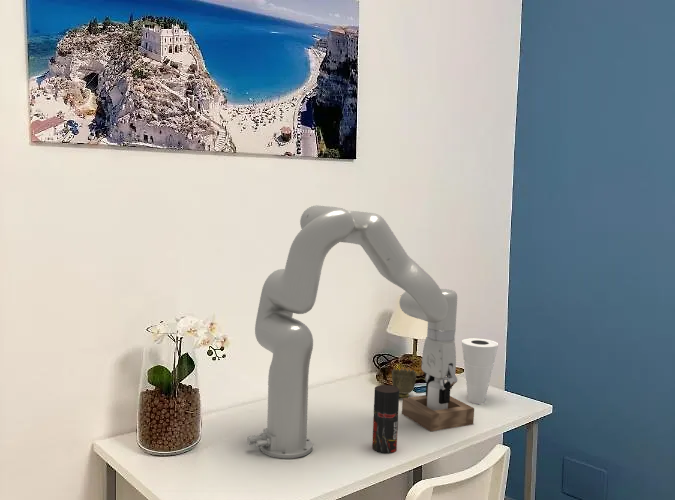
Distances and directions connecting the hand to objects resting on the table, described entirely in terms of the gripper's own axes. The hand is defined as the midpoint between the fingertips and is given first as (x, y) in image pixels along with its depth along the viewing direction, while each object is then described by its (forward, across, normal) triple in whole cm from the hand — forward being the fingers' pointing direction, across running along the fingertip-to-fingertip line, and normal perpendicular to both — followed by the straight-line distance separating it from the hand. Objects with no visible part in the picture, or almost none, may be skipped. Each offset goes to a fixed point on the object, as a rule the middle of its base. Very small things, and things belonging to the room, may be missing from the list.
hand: (437, 398), depth 184 cm
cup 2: (+6, -8, +20) cm, 23 cm away
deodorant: (+6, +12, -24) cm, 27 cm away
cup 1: (+6, -19, +1) cm, 20 cm away
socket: (+6, 0, 0) cm, 6 cm away
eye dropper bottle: (+4, 0, 0) cm, 4 cm away
